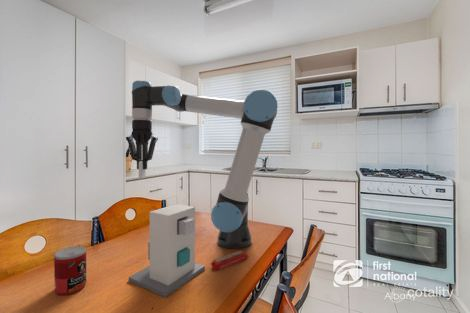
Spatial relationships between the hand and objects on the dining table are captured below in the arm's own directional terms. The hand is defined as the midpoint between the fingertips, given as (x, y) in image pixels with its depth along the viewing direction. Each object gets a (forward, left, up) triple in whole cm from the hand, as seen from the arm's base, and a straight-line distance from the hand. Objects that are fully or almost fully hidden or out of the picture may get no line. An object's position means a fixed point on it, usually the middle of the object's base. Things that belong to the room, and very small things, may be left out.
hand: (142, 177), depth 98 cm
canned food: (+7, +30, -30) cm, 43 cm away
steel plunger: (-21, +21, -15) cm, 33 cm away
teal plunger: (-19, +20, -25) cm, 37 cm away
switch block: (-19, +20, -29) cm, 40 cm away
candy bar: (-38, +9, -30) cm, 49 cm away
